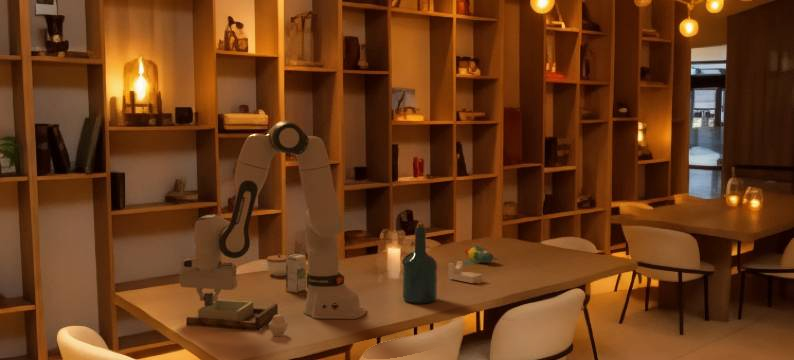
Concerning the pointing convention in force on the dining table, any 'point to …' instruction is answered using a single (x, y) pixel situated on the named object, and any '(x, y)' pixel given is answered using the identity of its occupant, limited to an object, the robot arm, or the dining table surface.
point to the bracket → (462, 273)
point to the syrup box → (295, 273)
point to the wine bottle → (419, 272)
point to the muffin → (278, 325)
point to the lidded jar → (277, 265)
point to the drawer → (225, 309)
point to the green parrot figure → (478, 256)
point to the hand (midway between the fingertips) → (208, 300)
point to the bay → (250, 323)
